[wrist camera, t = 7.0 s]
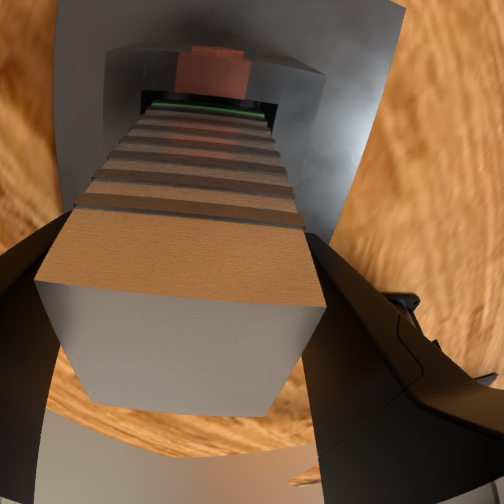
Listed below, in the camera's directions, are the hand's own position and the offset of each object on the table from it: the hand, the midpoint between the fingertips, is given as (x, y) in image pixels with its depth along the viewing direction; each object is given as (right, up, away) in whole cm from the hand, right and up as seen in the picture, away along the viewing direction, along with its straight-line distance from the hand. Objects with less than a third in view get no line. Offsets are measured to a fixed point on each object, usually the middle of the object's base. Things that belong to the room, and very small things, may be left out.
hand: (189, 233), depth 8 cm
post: (0, +4, +4) cm, 6 cm away
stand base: (-1, +7, +8) cm, 11 cm away
